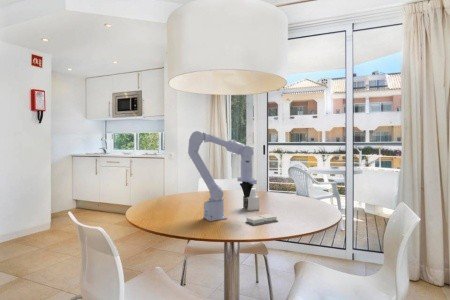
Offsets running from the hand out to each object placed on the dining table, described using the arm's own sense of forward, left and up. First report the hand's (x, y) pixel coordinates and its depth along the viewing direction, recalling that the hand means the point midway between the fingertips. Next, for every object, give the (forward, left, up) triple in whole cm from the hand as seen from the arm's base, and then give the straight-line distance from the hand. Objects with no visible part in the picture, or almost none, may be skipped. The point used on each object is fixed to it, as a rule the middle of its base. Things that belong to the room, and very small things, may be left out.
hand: (246, 197), depth 142 cm
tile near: (-2, -7, -9) cm, 11 cm away
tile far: (+5, -7, -9) cm, 12 cm away
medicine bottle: (+12, +14, -10) cm, 21 cm away
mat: (+1, -11, -10) cm, 15 cm away
